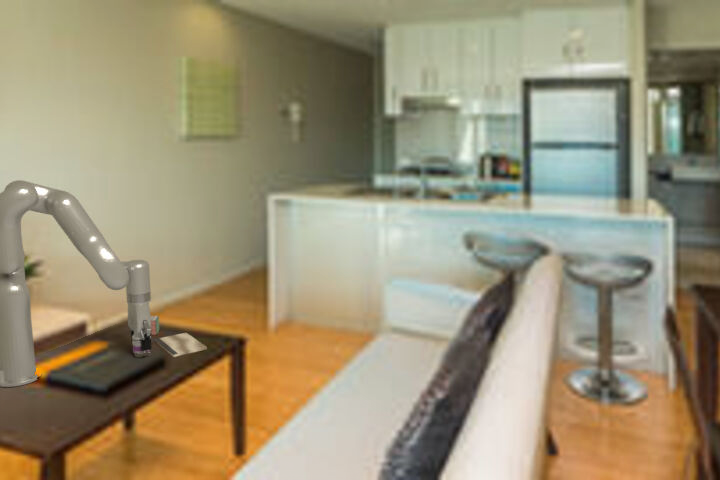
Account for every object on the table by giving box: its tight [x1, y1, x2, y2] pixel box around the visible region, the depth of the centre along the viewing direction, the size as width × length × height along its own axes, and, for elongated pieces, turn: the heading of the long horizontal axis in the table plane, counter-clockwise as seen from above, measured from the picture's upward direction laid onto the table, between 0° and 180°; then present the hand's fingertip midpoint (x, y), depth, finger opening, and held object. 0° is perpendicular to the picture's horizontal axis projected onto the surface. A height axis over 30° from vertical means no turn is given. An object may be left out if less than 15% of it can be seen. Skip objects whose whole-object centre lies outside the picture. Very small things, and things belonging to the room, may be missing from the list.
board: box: [154, 332, 208, 358], centre depth 202 cm, size 12×18×1 cm, turn 39°
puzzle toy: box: [150, 315, 160, 336], centre depth 214 cm, size 6×6×6 cm
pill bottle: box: [131, 329, 151, 354], centre depth 192 cm, size 5×5×10 cm
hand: (141, 345), depth 192 cm, fingers open, 9 cm apart
